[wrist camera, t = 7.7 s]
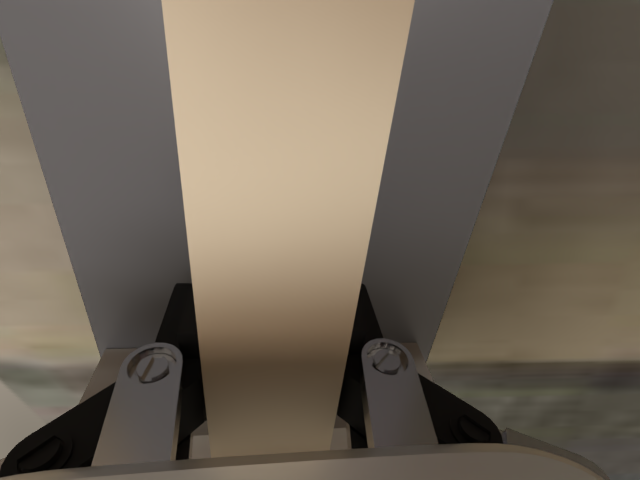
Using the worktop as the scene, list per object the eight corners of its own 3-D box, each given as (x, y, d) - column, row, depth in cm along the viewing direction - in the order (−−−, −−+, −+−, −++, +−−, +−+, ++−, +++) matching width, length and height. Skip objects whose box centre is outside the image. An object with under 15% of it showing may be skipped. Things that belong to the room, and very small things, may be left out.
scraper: (-19, -72, 7) (-404, -181, 3) (527, -3, 9) (748, -15, 5) (115, 384, 15) (53, 536, 10) (406, 374, 16) (453, 501, 12)
